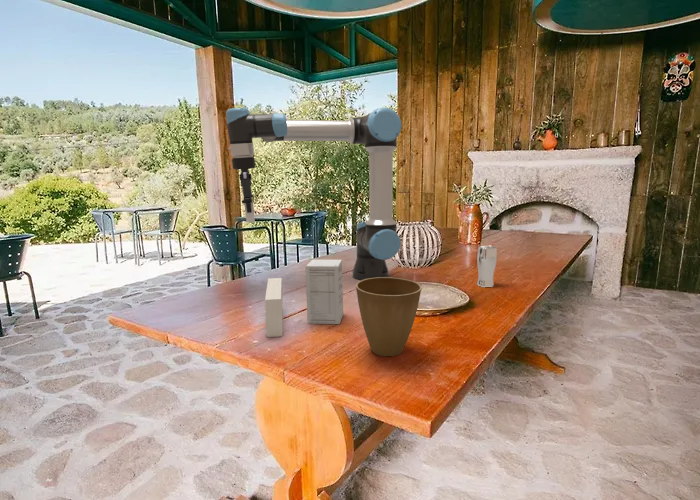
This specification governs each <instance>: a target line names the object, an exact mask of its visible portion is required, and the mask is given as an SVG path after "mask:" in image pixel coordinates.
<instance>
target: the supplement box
mask: <svg viewBox="0 0 700 500" xmlns="http://www.w3.org/2000/svg"><path fill="white" fill-rule="evenodd" d="M305 281H306V282H305V283H306V284H305V285H306V288H305V289H306V308H307V309H306V315H307V324H308V325H309V324H310V325H311V324H315V325H318V324H319V325H320V324H321V325H340V324H341V320H342V318H343V315H344V286H343V281H344V280H343V259H311V261H310V262H308V263H307V265H305Z"/></svg>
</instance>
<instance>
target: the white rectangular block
mask: <svg viewBox="0 0 700 500" xmlns="http://www.w3.org/2000/svg"><path fill="white" fill-rule="evenodd" d="M265 291H266V292H265V299H264V304H265V305H264V308H265V328H266V329H265V330H266V334H265V335H266V338H274V337H283V316H284V315H283V310H284V309H283V286H282V277H275V278H274V277H273V278H270V277H268V278H267V285H266V290H265Z"/></svg>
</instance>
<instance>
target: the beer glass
mask: <svg viewBox="0 0 700 500" xmlns="http://www.w3.org/2000/svg"><path fill="white" fill-rule="evenodd" d="M477 247H478V249H477V254H476V255H477V256H476V263H477V271H478V279H477V282H476V286H477V285H478V287H479V286H481V287H480V288H485V287H491V288H493V287H494V285H495V284H494V283H495V282H494V273H495V271H496V270H495V269H496V266H497V260H498V259H497V258H498V256H497V255H498V253H497V252H498V249H497V248H498V247H497V246H495V245H494V246H493V245H479V246H477Z"/></svg>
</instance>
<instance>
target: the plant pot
mask: <svg viewBox="0 0 700 500" xmlns="http://www.w3.org/2000/svg"><path fill="white" fill-rule="evenodd" d="M355 288H356V297H357V302H358V308H359V313H360V317H361V322H362V325H363V329H364V334H365V337H366V338H367V341H368V344H369V345H368V346H369V347H370V350H371V351H372V353H374V354H375V355H377V356H381V357H387V356H392V357H395V356H396V355H397V356H400V355H401V354H402V353H403V351H404V348H405V346H406V344H407V342H408V340H409V337H410V334H411V331H412V328H413V326H414V322H415V319H416V315H417V312H418V307H419V303H420V297H421V292H422V286H421V284H419V283H418V282H416V281H413V280H410V279H406V278H399V277H390V276H389V277H377V278H369V279H364V280H359V281H358V282H356V283H355Z"/></svg>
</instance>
